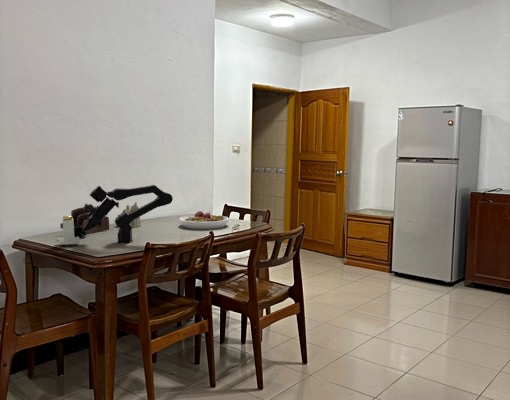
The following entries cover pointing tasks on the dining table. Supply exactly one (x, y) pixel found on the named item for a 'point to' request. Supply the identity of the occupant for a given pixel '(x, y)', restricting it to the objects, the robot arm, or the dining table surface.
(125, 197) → the robot arm
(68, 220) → the brushed metal block
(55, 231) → the dining table surface
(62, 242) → the gray rectangular block
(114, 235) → the dining table surface
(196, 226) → the bowl
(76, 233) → the end cap
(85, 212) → the letter holder
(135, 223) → the ceramic cottage
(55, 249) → the dining table surface
